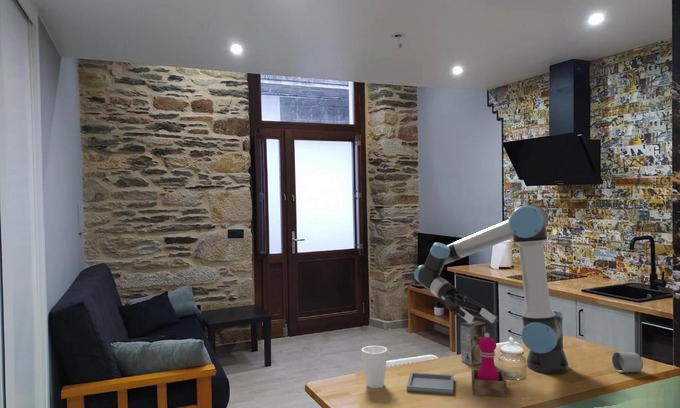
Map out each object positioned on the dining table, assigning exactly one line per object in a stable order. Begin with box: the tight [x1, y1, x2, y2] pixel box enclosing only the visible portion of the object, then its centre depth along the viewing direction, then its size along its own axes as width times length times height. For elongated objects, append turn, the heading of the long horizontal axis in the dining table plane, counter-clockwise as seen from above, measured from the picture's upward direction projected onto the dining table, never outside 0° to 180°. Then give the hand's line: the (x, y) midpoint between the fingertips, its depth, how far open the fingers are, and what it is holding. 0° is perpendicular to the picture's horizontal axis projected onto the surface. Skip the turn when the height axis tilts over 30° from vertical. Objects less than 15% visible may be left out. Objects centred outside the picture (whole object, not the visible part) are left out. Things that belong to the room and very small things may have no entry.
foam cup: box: [361, 345, 388, 389], centre depth 172 cm, size 10×9×13 cm
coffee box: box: [459, 320, 488, 366], centre depth 194 cm, size 9×6×16 cm
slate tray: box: [406, 372, 455, 396], centre depth 171 cm, size 16×14×2 cm
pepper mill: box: [478, 332, 499, 381], centre depth 166 cm, size 7×7×20 cm
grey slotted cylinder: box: [611, 351, 644, 374], centre depth 181 cm, size 11×8×8 cm
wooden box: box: [471, 368, 507, 398], centre depth 166 cm, size 11×11×5 cm
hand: (483, 320), depth 174 cm, fingers open, 13 cm apart
